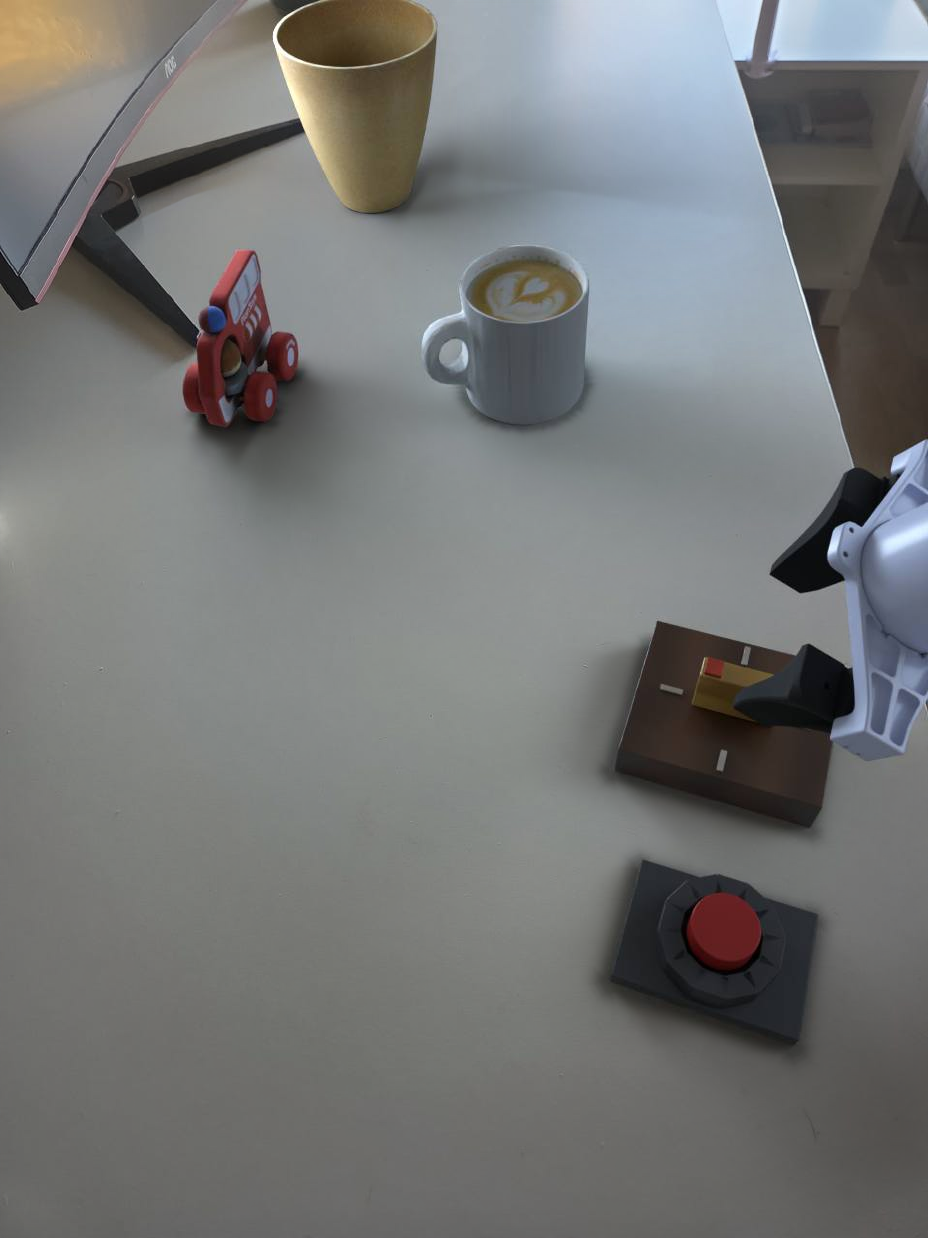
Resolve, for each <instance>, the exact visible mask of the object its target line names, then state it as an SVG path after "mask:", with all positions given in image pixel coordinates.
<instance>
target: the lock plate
mask: <svg viewBox="0 0 928 1238" xmlns="http://www.w3.org/2000/svg"><path fill="white" fill-rule="evenodd" d="M796 655H797V654H792V653H787V652H783V651H780V650H776V649H772V648H769V647H768V648H767V647H764V646H760V645H755V644H752V643H748V642H744V641H740V640H736V639H732V638H729V637H724V636H721V635H717V634H712V633H709V632H706V631H705V632H704V631H699V630H697V629H692V628H688V627H685V626H680V625H677V624H672V623H668V622H665V621H661V620H656V621H655V625H654V628H653V632H652V636H651V638H650V642H649V645H648V648H647V652H646V655H645V658H644V662H643V665H642V668H641V672H640V675H639V678H638V681H637V684H636V688H635V691H634V694H633V698H632V701H631V706H630V708H629V712H628V715H627V718H626V722H625V724H624V728H623V731H622V734H621V737H620V742H619V745H618V748H617V754H616V759H615V760H616V761H615V765H614V772H617V773H620V774H624V775H627V776H631V777H634V778H637V779H640V780H644V781H646V782H647V781H648V782H651V783H654V784H658V785H660V786H664V787H668V788H671V789H674V790H677V791H681V792H684V793H687V794H688V793H689V794H691V795H695V796H698V797H700V798H705V799H708V800H712V801H714V802H715V801H716V802H719V803H722V804H726V805H729V806H733V807H736V808H739V809H743V810H745V811H749V812H752V813H756V814H759V815H763V816H766V817H769V818H773V819H777V820H780V821H783V822H786V823H790V824H793V825H798V826H800V827H804V828H808V829H811V828H812V826H813V824H814V823H815V821H816V819H817V818H818V816H819V814H820V813H821V811H822V809H823V807H824V802H825V795H826V789H827V784H828V783H827V782H828V777H829V772H830V771H829V770H830V765H831V757H832V753H833V746H834V742H832V741H831V740H830V735H831V734H829V733H826V732H822V731H817V730H812V729H806V728H799V727H789V726H773V727H772V726H763V725H761V724H759V723H757V722H753V721H749V720H746V719H742V718H738V717H735V716H731V715H727V714H724V713H720V712H716V711H713V710H709V709H705V708H702V707H698V706H694V705H692V701H693V697H694V693H695V689H696V686H697V682H698V679H699V675H700V671H701V668H702V664H703V661H704V658H705V657H707V658H708V657H710V658H714V659H718V660H721V661H725V662H726V663H730V664H734V665H738V666H742V667H746V668H750V669H753V670H757V671H761V672H765V673H769V674H773V675H774V674H776V673H778V672H779V671H781V670H782V669H783V668H784V667H785V666H787V665H788V664H789V663H790V662H791V661H792V660H793V659H794V658H795V656H796Z"/></svg>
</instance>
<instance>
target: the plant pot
mask: <svg viewBox="0 0 928 1238" xmlns="http://www.w3.org/2000/svg"><path fill="white" fill-rule="evenodd" d="M438 27H439V26H438V20H437V18H436V17H435V14H433V13H432V11H431V10H429V9H428V8H427V7H425V6H424V5H422V4H421V3H418V2H416V1H413V0H318V1H314V2H311V3H309V4H306V5H304V6H301V7H299V8H297V9H295V10H294V11H292V12H290V13H289V14H287V15H286V16H284V17H283V18H282V19H280V21H279V22H278V23H277V25H276V26H275V28H274V30H273V35H272V39H273V40H272V41H273V44H274V47H275V51H276V54H277V58H278V60H279V64H280V68H281V70H282V73H283V76H284V79H285V82H286V85H287V88H288V90H289V93H290V97H291V99H292V102H293V104H294V107H295V110H296V112H297V115H298V117H299V120H300V123H301V125H302V127H303V130H304V132H305V135H306V137H307V139H308V141H309V144H310V146H311V148H312V150H313V152H314V155H315V157H316V159H317V161H318V163H319V165H320V167H321V169H322V170H323V173H324V174H325V177H326V178H327V180H328V182H329V184H330V185H331V188H332V189H333V191H334V193H335V195H336V196H337V198H338V200H339V201H340V202H341V204H342V205H343V206H344V207H346V208H347V209H350V210H351V211H353V212H357V213H365V214H377V213H382V212H383V213H384V212H387V211H390V210H393V209H395V208H397V207H400V206H401V205H402V204H403V203H405V201H406V200H407V199H408V197H409V196H410V193H411V190H412V186H413V183H414V179H415V176H416V173H417V170H418V165H419V161H420V157H421V153H422V150H423V146H424V140H425V136H426V131H427V125H428V120H429V115H430V114H429V113H430V107H431V101H432V94H433V86H434V85H433V84H434V78H435V77H434V75H435V74H434V73H435V66H436V65H435V64H436V55H437V40H438Z"/></svg>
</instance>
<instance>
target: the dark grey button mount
mask: <svg viewBox="0 0 928 1238" xmlns="http://www.w3.org/2000/svg"><path fill="white" fill-rule="evenodd" d="M715 893H727V894H731V895H734V896H737V897H739V898H741V899H742V900H744V901H745V902H746V903H748V904H749V905H750V906H751V907H752V909H753V910H754V911H755V913H756V915H757V917H758V919H759V922H760V926H761V939H760V942H759V945H758V947H757V948H756V950H755V952H754V953H753V955H752V956H751V958H750V959H749V960H748V962H747V963H745V964H744V965H743V966H741V967H739V968H737V969H734V970H728V971H723V970H717V969H714V968H711V967H709V966H707V965H705V964H704V963H702V962H701V961H700V960H699V959H698V958H697V957H696V956H695V955H694V953H693V952H692V950H691V948H690V946H689V943H688V940H687V925H688V921H689V919H690V917H691V914H692V912H693V910H694V908H695V906H696V905H697V903H698V902H699V901H700V900H702V899H703V898H705V897H706V896H708V895H711V894H715ZM627 910H628V911H627V913H626V917H625V921H624V925H623V928H622V932H621V936H620V940H619V944H618V947H617V950H616V954H615V959H614V962H613V966H612V968H611V969H612V970H611V973H610V978H609V982H610V983H613V984H615V985H617V986H621V987H624V988H626V989H630V990H633V991H635V992H638V993H641V994H644V995H647V996H650V997H653V998H656V999H659V1000H662V1001H665V1002H667V1003H670V1004H673V1005H676V1006H679V1007H682V1008H684V1009H688V1010H691V1011H693V1012H697V1013H699V1014H701V1015H704V1016H707V1017H710V1018H714V1019H716V1020H719V1021H722V1022H725V1023H727V1024H730V1025H734V1026H737V1027H739V1028H742V1029H745V1030H748V1031H750V1032H754V1033H757V1034H759V1035H762V1036H765V1037H768V1038H771V1039H774V1040H777V1041H779V1042H782V1043H784V1044H785V1043H786V1044H788V1045H791V1046H796V1044H798V1042H799V1041H800V1040H801V1033H802V1027H803V1026H802V1025H803V1019H804V1015H805V1014H804V1013H805V1006H806V1001H807V994H808V988H809V982H810V981H809V980H810V973H811V967H812V962H813V953H814V948H815V940H816V935H817V929H818V922H819V921H818V920H819V914H818V913H815V912H812V911H809V910H805V909H803V908H799V907H797V906H793V905H790V904H786V903H783V902H780V901H778V900H774V899H771V898H768V897H765V896H763V895H762V894H761V893H760V892H759V891H758V890H757V889H756V888H755V887H753V886H752V885H751V883H748V882H746V881H742V880H739V879H735V878H732V877H729V876H726V875H723V874H720V873H718V874H717V873H714V874H710V875H704V876H697V875H695V874H691V873H689V872H685V871H681V870H678V869H675V868H672V867H669V866H666V865H662V864H659V863H657V862H653V861H650V860H646V859H643V858H642V859H641V861H640V864H639V868H638V872H637V876H636V880H635V883H634V886H633V891H632V894H631V899H630V902H629V905H628V909H627Z"/></svg>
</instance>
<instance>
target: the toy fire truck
mask: <svg viewBox="0 0 928 1238" xmlns="http://www.w3.org/2000/svg"><path fill="white" fill-rule="evenodd" d="M270 319H271V318H270V316H269V311H268V306H267V302H266V298H265V294H264V289H263V286H262V270H261V265H260V262H259V257H258V254H257V252H256V250H253V249H240V248H239V249H236V250H235V251H234V253H233V255H232V257H231V259H230V260H229V262H228V264H227V266H226V268H225V269H224V271H223V273H222V275H220V278H219V279H218V281H217V283H216V284H215V287H214V288H213V290H212V292H211V293H210V296H209V301H208V305H207V306H205V307H203V308H202V309H201V310H200V311H199V314H198V318H197V320H198V325H199V329H200V330H202V331H201V334H200V335H199V338H198V340H197V344H196V361H197V362H194V363H192V364H190V365H189V366H188V367H187V369H186V371H185V373H184V377H183V381H182V397H183V401H184V404H185V407H186V408H187V410H189V412H192V413H196V414H203V415H205V416H206V420H207V421H208V423H209V424H210V425H214V426H218V427H223V428H224V427H225V428H226V427H228V426H229V425H230V424H231V423H232V421H233V419H234V417H235V415H236V413H237V411H238V409H240V408H242V407H243V409H244V413H245V415H246V416H247V417H248V418H249V419H250V420H252V421H255V422H262V423H263V422H267V421H269V420H270V419H271V418H272V417H273V416H274V414H275V413H274V412H275V410H276V408H277V407H276V406H277V404H278V403H277V401H278V386H277V381H280V382H289V381H291V380H292V379H293V378H294V377H295V375H296V372H297V369H298V363H299V345H298V341H297V338H296V337H295V335H294V334H293V333H291V332H287V331H275V332H273V330H272V329H273V328H272V323H271V320H270ZM265 361H266V365H267V367H266V370H267V371H260V370H258V369H259V368H261V367H263V366H264V363H265Z"/></svg>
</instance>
